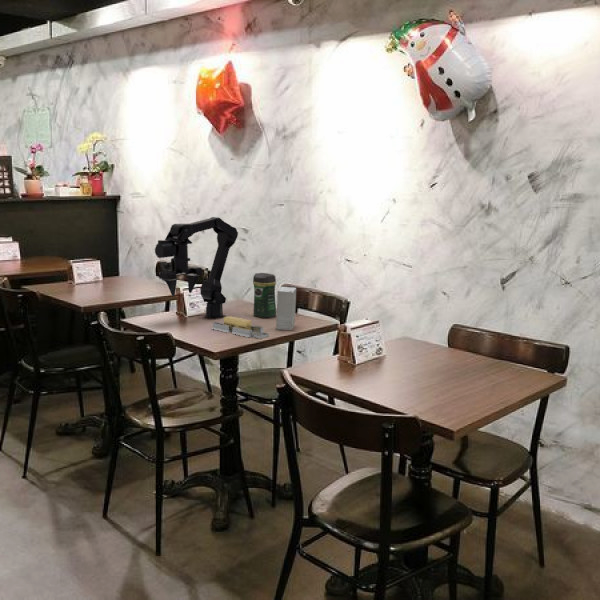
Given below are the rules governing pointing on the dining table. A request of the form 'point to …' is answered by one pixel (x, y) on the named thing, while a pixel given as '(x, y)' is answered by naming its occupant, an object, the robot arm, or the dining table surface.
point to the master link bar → (237, 322)
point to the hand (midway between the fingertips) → (181, 294)
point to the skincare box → (286, 308)
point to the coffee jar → (264, 295)
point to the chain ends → (241, 330)
